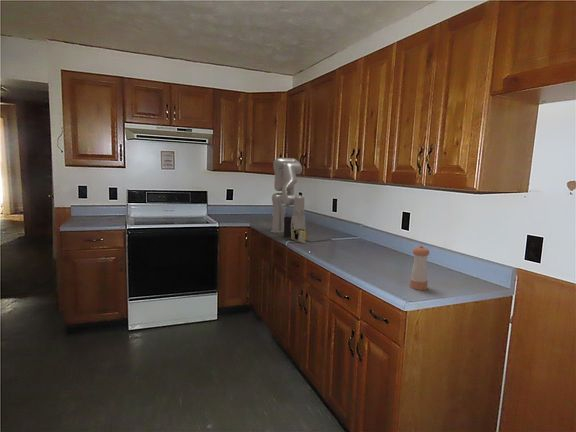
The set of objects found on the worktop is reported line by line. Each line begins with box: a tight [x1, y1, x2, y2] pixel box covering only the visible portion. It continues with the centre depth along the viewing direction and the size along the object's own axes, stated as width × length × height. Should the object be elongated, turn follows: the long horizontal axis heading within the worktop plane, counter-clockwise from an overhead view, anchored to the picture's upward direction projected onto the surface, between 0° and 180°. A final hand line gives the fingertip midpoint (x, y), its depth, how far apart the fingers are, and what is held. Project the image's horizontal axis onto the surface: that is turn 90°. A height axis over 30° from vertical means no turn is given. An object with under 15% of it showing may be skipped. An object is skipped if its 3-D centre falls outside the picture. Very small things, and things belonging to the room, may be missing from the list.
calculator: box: [283, 216, 292, 238], centre depth 277 cm, size 11×4×15 cm, turn 76°
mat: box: [305, 235, 332, 244], centre depth 268 cm, size 12×19×1 cm, turn 124°
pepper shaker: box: [409, 245, 430, 291], centre depth 164 cm, size 7×7×19 cm
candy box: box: [290, 230, 307, 244], centre depth 260 cm, size 16×2×8 cm, turn 32°
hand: (298, 238), depth 261 cm, fingers closed on candy box, 2 cm apart
